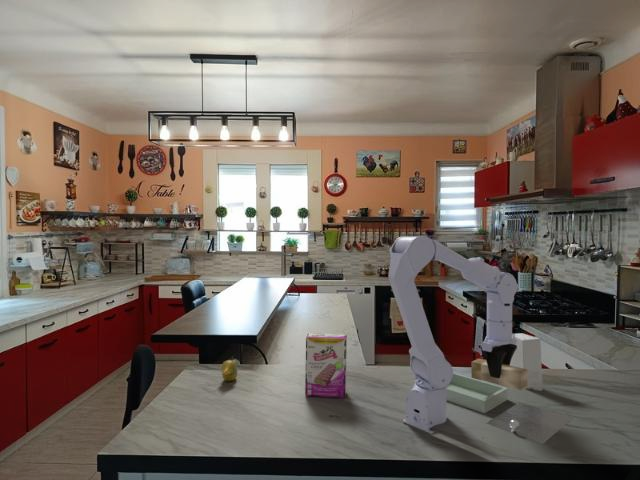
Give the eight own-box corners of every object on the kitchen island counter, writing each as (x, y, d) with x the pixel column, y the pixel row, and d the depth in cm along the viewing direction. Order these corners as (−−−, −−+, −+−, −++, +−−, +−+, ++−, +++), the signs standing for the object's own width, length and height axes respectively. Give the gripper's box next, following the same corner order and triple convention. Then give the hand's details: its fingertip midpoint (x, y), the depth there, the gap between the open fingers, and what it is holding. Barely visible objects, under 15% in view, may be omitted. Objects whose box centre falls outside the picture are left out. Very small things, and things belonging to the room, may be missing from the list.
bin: (484, 417, 96) (484, 400, 96) (419, 394, 110) (419, 379, 110) (507, 403, 104) (507, 388, 104) (444, 383, 118) (444, 370, 118)
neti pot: (216, 389, 112) (216, 366, 112) (227, 372, 127) (228, 351, 127) (232, 389, 112) (232, 366, 112) (241, 372, 127) (241, 351, 127)
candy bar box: (304, 397, 107) (305, 336, 107) (307, 390, 112) (307, 332, 112) (346, 399, 106) (346, 338, 106) (346, 391, 111) (346, 333, 111)
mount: (542, 449, 81) (542, 431, 81) (485, 427, 90) (485, 412, 90) (572, 422, 93) (572, 407, 93) (519, 406, 102) (519, 392, 102)
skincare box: (543, 391, 112) (543, 339, 112) (523, 392, 111) (523, 339, 111) (523, 381, 120) (524, 332, 120) (505, 381, 120) (505, 332, 119)
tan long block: (471, 377, 101) (471, 361, 101) (478, 374, 104) (478, 358, 104) (520, 390, 92) (520, 372, 92) (527, 386, 95) (527, 368, 95)
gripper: (503, 327, 90) (503, 386, 90) (527, 318, 100) (527, 372, 100) (473, 322, 95) (473, 378, 95) (499, 314, 105) (498, 365, 105)
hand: (498, 374), depth 98 cm, fingers closed on tan long block, 4 cm apart
